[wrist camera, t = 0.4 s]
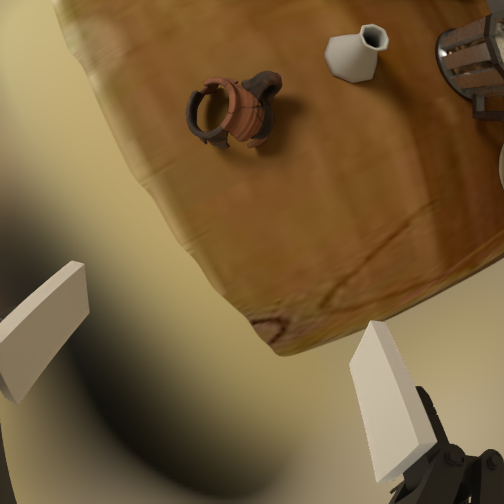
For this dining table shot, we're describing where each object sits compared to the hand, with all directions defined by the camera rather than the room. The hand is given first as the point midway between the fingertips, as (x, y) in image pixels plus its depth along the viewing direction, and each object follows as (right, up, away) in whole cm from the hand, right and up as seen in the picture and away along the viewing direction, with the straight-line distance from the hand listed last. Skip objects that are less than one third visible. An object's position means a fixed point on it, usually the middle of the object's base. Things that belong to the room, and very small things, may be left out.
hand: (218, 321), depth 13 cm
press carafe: (+33, +29, +17) cm, 47 cm away
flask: (+14, +28, +19) cm, 36 cm away
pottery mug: (0, +21, +22) cm, 31 cm away
